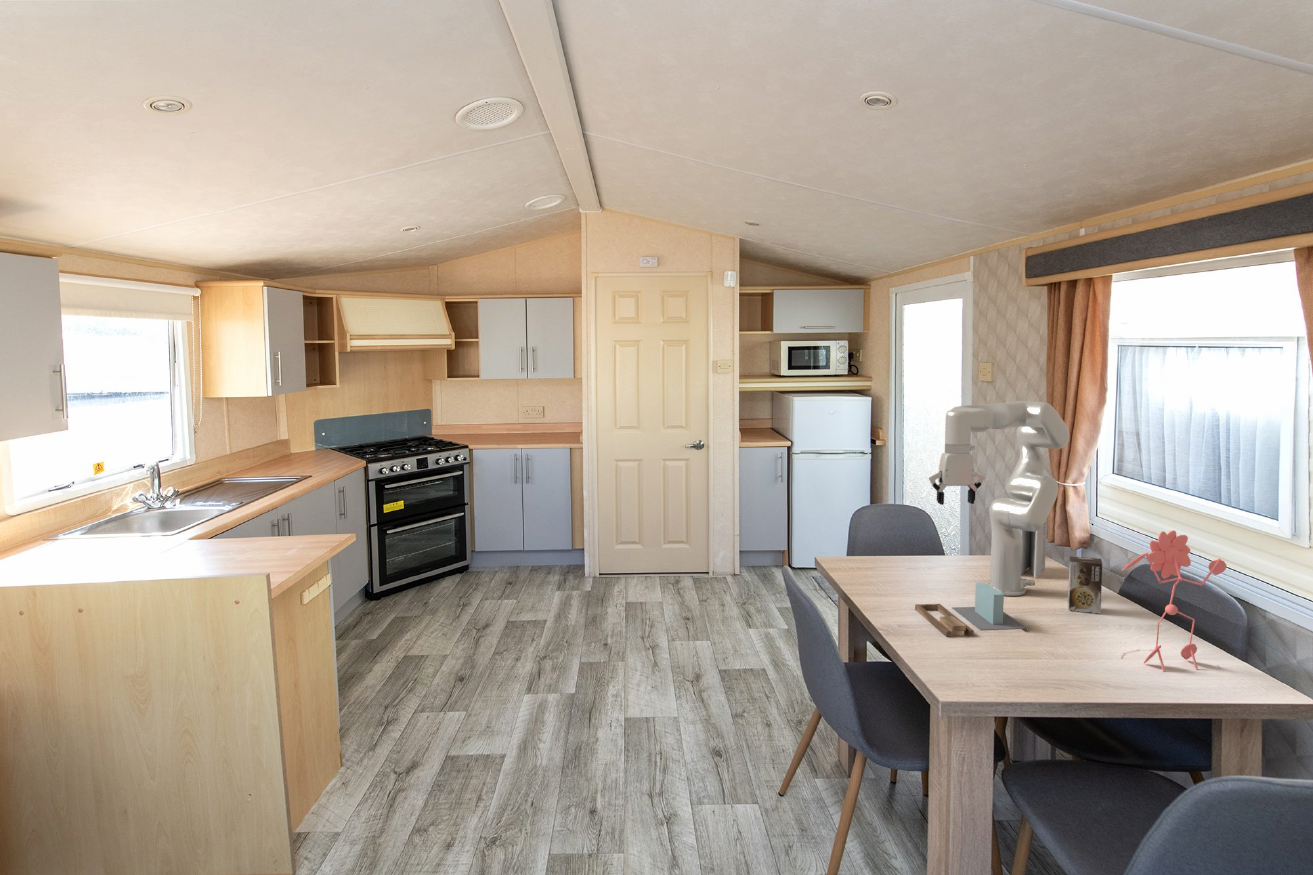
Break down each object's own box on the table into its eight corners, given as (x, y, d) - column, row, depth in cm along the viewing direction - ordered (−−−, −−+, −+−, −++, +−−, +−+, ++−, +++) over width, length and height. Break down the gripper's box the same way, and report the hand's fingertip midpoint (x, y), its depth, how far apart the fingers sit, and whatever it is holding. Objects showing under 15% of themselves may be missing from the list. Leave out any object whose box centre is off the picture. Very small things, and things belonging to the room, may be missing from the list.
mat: (995, 609, 259) (995, 606, 259) (1027, 631, 239) (1027, 628, 239) (951, 610, 258) (951, 607, 258) (980, 632, 238) (980, 629, 238)
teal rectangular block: (984, 610, 254) (985, 582, 253) (1002, 624, 242) (1003, 594, 241) (974, 611, 254) (975, 582, 253) (992, 624, 242) (993, 594, 241)
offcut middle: (952, 626, 242) (952, 621, 242) (964, 635, 234) (964, 630, 234) (938, 626, 242) (938, 621, 241) (950, 636, 234) (950, 631, 233)
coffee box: (1099, 608, 258) (1102, 558, 256) (1100, 614, 253) (1103, 563, 251) (1067, 604, 262) (1069, 555, 260) (1067, 611, 256) (1070, 560, 255)
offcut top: (952, 621, 242) (952, 616, 242) (965, 630, 234) (965, 625, 234) (939, 621, 241) (939, 616, 241) (952, 631, 233) (952, 626, 233)
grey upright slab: (1035, 578, 291) (1039, 495, 288) (1019, 576, 294) (1022, 493, 291) (1044, 569, 302) (1048, 489, 299) (1028, 567, 306) (1032, 487, 302)
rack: (939, 611, 257) (939, 603, 257) (973, 638, 234) (973, 630, 233) (915, 612, 257) (915, 604, 257) (946, 639, 233) (946, 631, 233)
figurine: (1230, 668, 210) (1237, 534, 207) (1136, 674, 208) (1141, 538, 204) (1185, 648, 226) (1191, 522, 222) (1097, 653, 223) (1101, 526, 219)
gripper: (979, 447, 260) (977, 500, 262) (925, 448, 259) (924, 501, 261) (990, 450, 253) (988, 505, 255) (935, 451, 252) (933, 506, 254)
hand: (955, 503), depth 258 cm, fingers open, 9 cm apart
